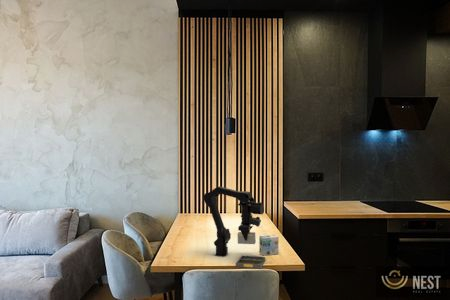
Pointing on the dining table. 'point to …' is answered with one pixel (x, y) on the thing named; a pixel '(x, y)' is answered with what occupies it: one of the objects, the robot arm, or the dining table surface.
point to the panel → (250, 238)
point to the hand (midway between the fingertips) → (246, 239)
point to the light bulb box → (269, 244)
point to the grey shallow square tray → (250, 262)
